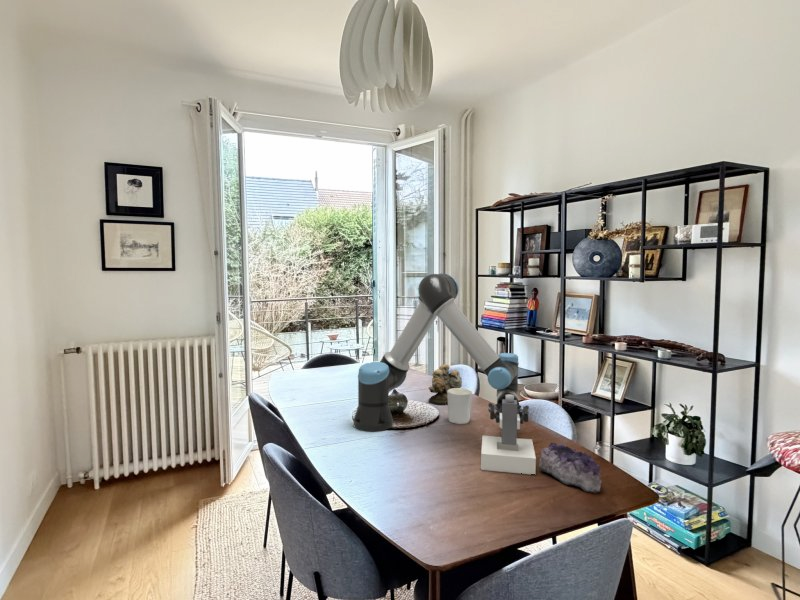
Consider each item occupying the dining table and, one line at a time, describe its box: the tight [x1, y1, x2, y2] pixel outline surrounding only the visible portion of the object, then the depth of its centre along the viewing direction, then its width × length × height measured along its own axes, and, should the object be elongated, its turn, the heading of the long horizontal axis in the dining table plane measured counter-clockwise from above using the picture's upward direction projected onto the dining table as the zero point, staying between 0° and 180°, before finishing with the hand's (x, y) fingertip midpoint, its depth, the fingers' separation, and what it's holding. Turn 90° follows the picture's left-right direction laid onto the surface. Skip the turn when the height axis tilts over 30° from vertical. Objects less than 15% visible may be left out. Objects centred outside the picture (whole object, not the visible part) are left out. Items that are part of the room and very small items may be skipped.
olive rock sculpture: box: [428, 363, 463, 406], centre depth 218 cm, size 18×12×17 cm, turn 117°
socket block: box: [480, 435, 537, 475], centre depth 151 cm, size 16×16×5 cm
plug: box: [501, 394, 518, 445], centre depth 151 cm, size 4×4×15 cm
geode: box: [538, 442, 603, 493], centre depth 140 cm, size 20×12×10 cm, turn 30°
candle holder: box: [447, 387, 473, 425], centre depth 191 cm, size 10×10×12 cm
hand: (509, 424), depth 145 cm, fingers closed on plug, 4 cm apart
